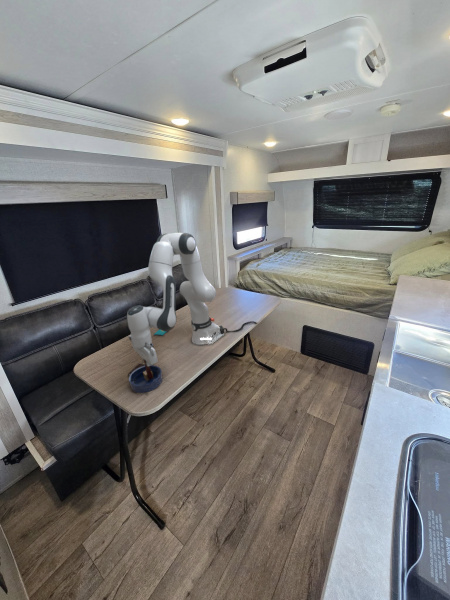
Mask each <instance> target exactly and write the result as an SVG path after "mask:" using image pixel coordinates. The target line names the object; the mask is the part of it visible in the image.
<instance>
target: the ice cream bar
mask: <svg viewBox="0 0 450 600" xmlns="http://www.w3.org/2000/svg"><path fill="white" fill-rule="evenodd" d="M143 366H145V364H144V363H138V364H136V365H135V366H134V367H133V368H132V369H131V370H130V371H129V372H128V373H127V376H130V375H131V373H132V372H133V371H135V370H136V369H138V368H140V367H143Z"/></svg>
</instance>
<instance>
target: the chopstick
mask: <svg viewBox="0 0 450 600" xmlns="http://www.w3.org/2000/svg"><path fill="white" fill-rule="evenodd" d="M143 360H144V359H143ZM143 360H142V361H143ZM144 364H145V368H146V372H147V377H148V379H149V380H150V379H152V378H153V377H152V373H151V369H150V366H147V365H146V360H144Z"/></svg>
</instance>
